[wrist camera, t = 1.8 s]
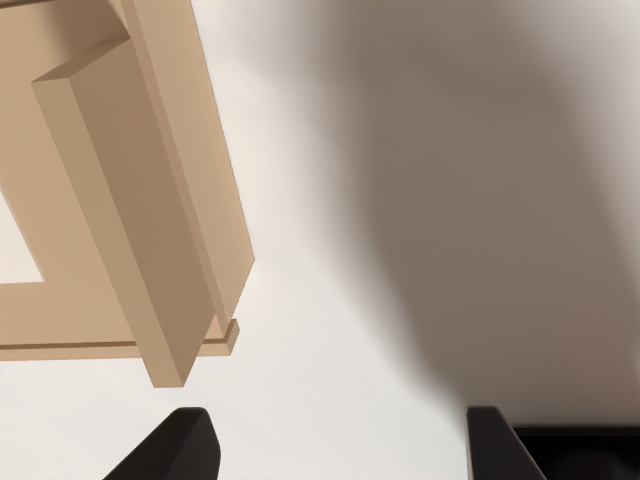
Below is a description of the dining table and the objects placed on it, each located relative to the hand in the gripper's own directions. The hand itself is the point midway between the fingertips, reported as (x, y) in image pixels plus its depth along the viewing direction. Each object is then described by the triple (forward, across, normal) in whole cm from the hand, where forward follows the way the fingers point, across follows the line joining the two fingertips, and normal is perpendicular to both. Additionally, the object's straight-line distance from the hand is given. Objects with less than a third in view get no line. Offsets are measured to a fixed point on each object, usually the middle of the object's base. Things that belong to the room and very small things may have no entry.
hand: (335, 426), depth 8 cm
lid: (+9, +12, 0) cm, 15 cm away
